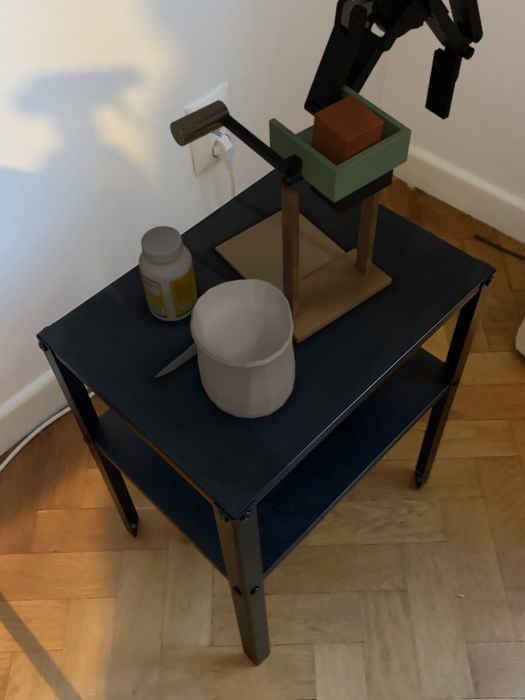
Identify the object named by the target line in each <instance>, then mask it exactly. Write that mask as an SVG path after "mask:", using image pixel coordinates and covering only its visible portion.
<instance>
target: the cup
mask: <svg viewBox="0 0 525 700" xmlns="http://www.w3.org/2000/svg"><path fill="white" fill-rule="evenodd" d="M190 316H191V317H190V324H189V328H190V333H191V337H192V338H193V341H194V342H195V343H196V346H197V352H198V353H197V364H198V368H199V369H198V370H199V375H200V380H201V385H202V387H203V389H204V391H205V392H206V395H207V396H208V398H209V399H210V400H211V401H212V403H214V405H216V406H217V408H219V410H221V411H222V412H225V413H227V414H230V415H232V416H234V417H237V418H245V419H257V418H261V417H267V416H269V415H271V414H273V413H274V412H275V411H277V410H278V409H280V408H281V407H283V406H284V405H285V403H286V401H287V400H288V399H289V397H291V394H292V393H293V390H294V384H295V379H296V361H295V359H296V358H295V352H294V346H293V338H292V334H293V320H292V314H291V310H290V306H289V303H288V300H287V299H286V297H285V296H284V294H283V293H282V291H281V290H279V289H278V288H276V287H275V286H273V285H272V284H270V283H269V282H265V281H261V280H257V279H247V280H245V279H235V280H230V281H225V282H222V283H219V284H217V285H215V286H213V287H211V288H209V289H207V290H206V291H205V292H204V293H203V294H202V295H201V296H200V297H198V300H197V302H196V304H195V305H194V307H193V309H192V313H191V314H190Z"/></svg>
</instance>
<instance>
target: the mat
mask: <svg viewBox="0 0 525 700" xmlns="http://www.w3.org/2000/svg"><path fill="white" fill-rule="evenodd" d="M214 250H215V252H216V253H218V255H219V256H220V257H221V258H222V259H224V260H225V262H227V264H229V265H230V266H231V267H232V268H233V269H234V270H235V271H236V272H237V273H238V274H239V275H240V276H241V277H242V278H243V280H247V279H257V280H261V281H265V282H269V283H270V284H272V285H273V286H275V287H276V288H278V289H279V290H281V291H282V292H283V251H282V209H281V210H278V211H277V212H276V213H274V214H272V215H270V216H269V217H268V216H267V218H265V219H263V220H261V221H260V222H257V223H256V224H254V225H252V226H251V227H248V228H247V229H245V230H243V231H242V232H240V233H237V234H236V235H235V236H233V237H231V238H230V239H229V238H228V240H226V241H224V242H222V243H220V244H219V245H216V246H215V247H214ZM346 253H347V252H346V251H345V250H344V249H342V247H341V246H339V245H338V244H336V242H334V240H332V239H331V238H329V236H327V235H326V234H325V233H324V232H322V230H320V229H319V228H318V227H317V226H316V225H315V224H313V223H312V222H311V221H310V220H309V219H307V217H305V216H304V215H303V214H301V213H300V212H299V282H300V281H301V280H303V279H305V278H306V277H308V276H310V275H311V274H313V273H315V272H316V271H318V270H319V269H321V268H323V267H324V266H326V265H328V264H329V263H331V262H333V261H334V260H336V259H337V258H339V257H341V256H342V255H344V254H346Z"/></svg>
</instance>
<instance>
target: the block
mask: <svg viewBox="0 0 525 700" xmlns="http://www.w3.org/2000/svg"><path fill="white" fill-rule="evenodd" d="M313 117H314V118H313V124H312V125H313V134H312V144H311V147H313V148H314V149H315V150H316V151H318V152H319V153H320V154H322V155H323V156H324V157H326V158H327V159H328V160H329V161H331V162H332V163H333V164H335V165H336V166H337V165H339V164H341V163H343V162H345V161H346V160H348V159H350V158H352V157H354V156H355V155H357V154H359V153H361V152H363V151H364V150H366V149H368V148H370V147H372V146H373V145H375V144H377V143H379V142H380V137H381V133H382V128H383V123H384V121H383V120H382V119H381V118H379V117H378V116H377V115H376V114H374V113H373V112H372V111H371V110H370V109H368V108H367V107H366V106H365V105H364V104H362V103H361V102H360V101H359V100H358V99H356V98H355V97H354V96H353V95H350V96H348V97H346V98H344V99H342V100H340V101H338V102H336V103H334V104H332V105H330V106H328V107H327V108H325V109H323V110H321V111H319V112H317V113H315V116H313Z"/></svg>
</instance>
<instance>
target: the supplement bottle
mask: <svg viewBox="0 0 525 700" xmlns="http://www.w3.org/2000/svg"><path fill="white" fill-rule="evenodd" d="M182 238H183V237H182V235H181V233H180V232H179V230H177V229H176V228H174V227H172V226H169V225H168V226H167V225H160V226H154V227H152V228H150V229H148V230H147V231H146V232H145V233H144V234H143V236H142V237H141V239H140V247H141V252H140V254H139V257H138V269H139V273H140V277H141V282H142V285H143V289H144V294H145V298H146V303H147V306H148V309H149V311H150V312H151V314H152V315H153V316H154V317H155V318H157V319H159V320H161V321H164V322H176V321H180V320H183V319H186V317H189V316H191V315H192V309H193V307H194V305H195V304H196V302H197V300H198V299H199V297H198V290H197V283H196V277H195V271H194V264H193V258H192V254H191V251H190V250H189V248H188V247H187V246H186V245H185V244H184V242H183V239H182Z"/></svg>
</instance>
